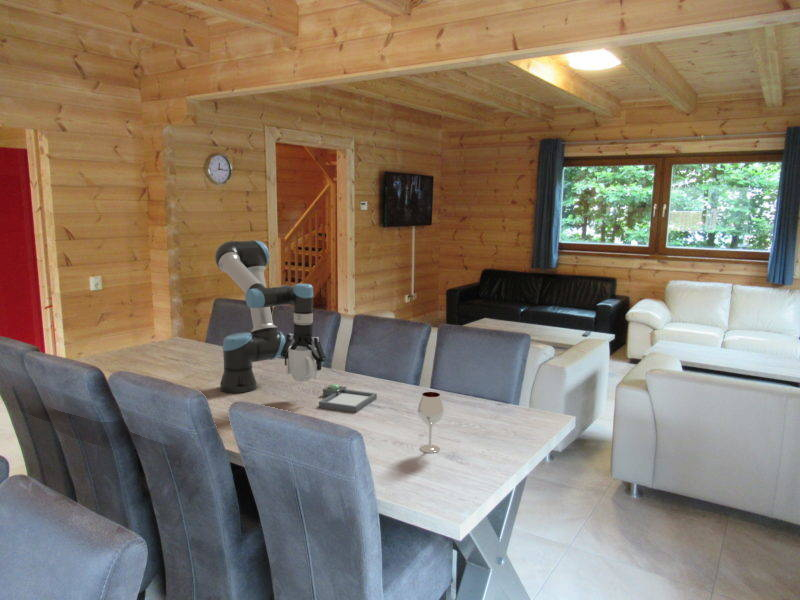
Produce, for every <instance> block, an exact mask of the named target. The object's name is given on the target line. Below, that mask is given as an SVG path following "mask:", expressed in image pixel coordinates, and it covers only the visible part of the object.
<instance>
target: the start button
mask: <svg viewBox="0 0 800 600" xmlns="http://www.w3.org/2000/svg"><path fill="white" fill-rule="evenodd" d="M329 386H330V389H332V390H338V389H339V386H340V384H339V383H331V384H329Z"/></svg>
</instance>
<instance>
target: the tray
mask: <svg viewBox="0 0 800 600" xmlns="http://www.w3.org/2000/svg"><path fill="white" fill-rule="evenodd" d="M377 396H378V395H377V393H375V392H367V391H362V390H361V391H360V390H353V389H347V388H346V389H344V393H342V394H340V395H339V396H337V393H333V394H332V395H330V396H328V397H325V398H323V399H321V400H319V402H318V408H322V409H327V410H328V409H329V410H334V411H335V410H336V411H341V412H350V413H358V412H360V411H361V410H362V409H364V408H365V407H367V406H368V405H369V404H372V402H374V401H375V400H377V399H378V398H377Z"/></svg>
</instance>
